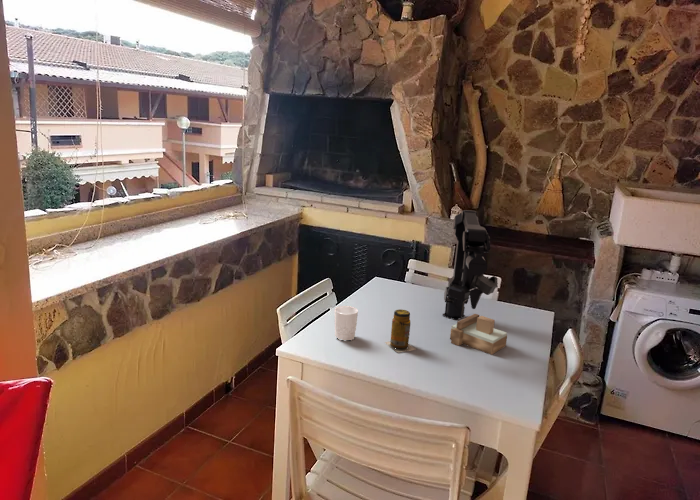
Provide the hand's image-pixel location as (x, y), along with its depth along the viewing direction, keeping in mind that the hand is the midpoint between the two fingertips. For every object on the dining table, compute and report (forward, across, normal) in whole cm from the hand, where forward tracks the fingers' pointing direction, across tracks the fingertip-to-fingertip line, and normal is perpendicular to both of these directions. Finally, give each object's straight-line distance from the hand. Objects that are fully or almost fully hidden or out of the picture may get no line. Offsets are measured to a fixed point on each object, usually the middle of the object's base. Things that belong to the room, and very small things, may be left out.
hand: (466, 311), depth 171 cm
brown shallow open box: (+13, +7, -2) cm, 15 cm away
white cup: (+13, -24, +32) cm, 42 cm away
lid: (+9, +7, -2) cm, 12 cm away
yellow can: (+13, -15, +15) cm, 25 cm away
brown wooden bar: (+7, +8, +3) cm, 11 cm away
